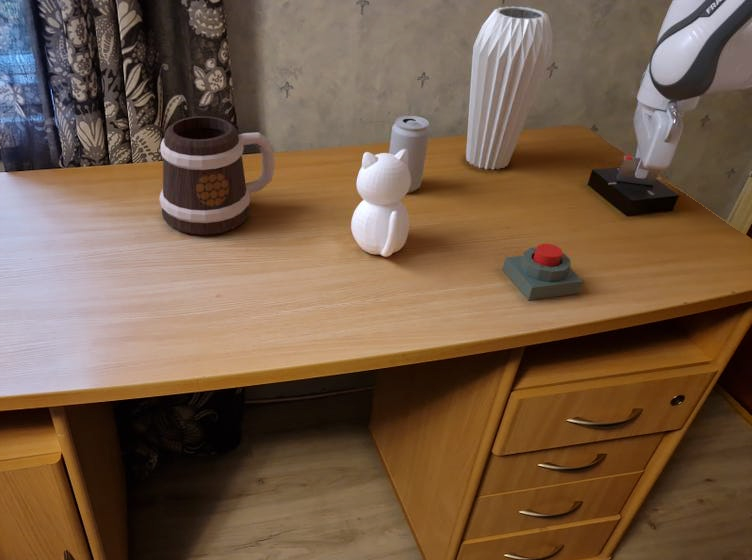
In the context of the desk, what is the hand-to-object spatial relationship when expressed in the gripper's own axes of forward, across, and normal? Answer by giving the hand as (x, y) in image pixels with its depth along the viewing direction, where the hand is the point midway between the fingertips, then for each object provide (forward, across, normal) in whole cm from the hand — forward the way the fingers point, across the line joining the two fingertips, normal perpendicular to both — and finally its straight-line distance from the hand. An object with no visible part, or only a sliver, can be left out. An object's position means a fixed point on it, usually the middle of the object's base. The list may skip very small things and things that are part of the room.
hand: (638, 172), depth 117 cm
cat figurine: (+5, -30, +39) cm, 50 cm away
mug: (+5, -28, +67) cm, 73 cm away
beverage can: (+5, -8, +39) cm, 40 cm away
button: (+1, -33, +15) cm, 36 cm away
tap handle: (+2, 0, 0) cm, 2 cm away
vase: (+5, +8, +25) cm, 27 cm away
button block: (+5, -33, +15) cm, 36 cm away
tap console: (+5, 0, 0) cm, 5 cm away
